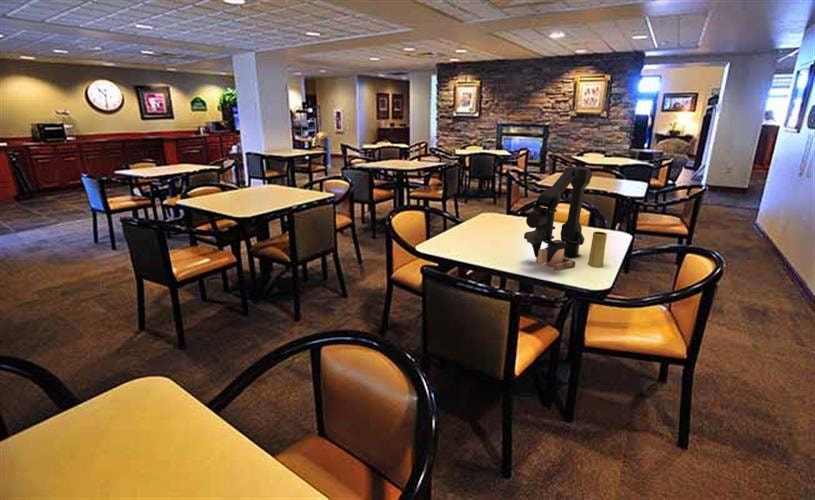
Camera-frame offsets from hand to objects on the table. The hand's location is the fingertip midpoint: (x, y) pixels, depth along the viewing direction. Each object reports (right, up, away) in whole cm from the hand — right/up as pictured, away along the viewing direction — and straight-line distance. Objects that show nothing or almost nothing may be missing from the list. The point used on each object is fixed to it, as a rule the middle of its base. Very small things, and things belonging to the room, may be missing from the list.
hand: (542, 259), depth 182 cm
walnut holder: (+6, -2, +4) cm, 8 cm away
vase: (+24, -3, +4) cm, 25 cm away
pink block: (+4, -3, +3) cm, 6 cm away
